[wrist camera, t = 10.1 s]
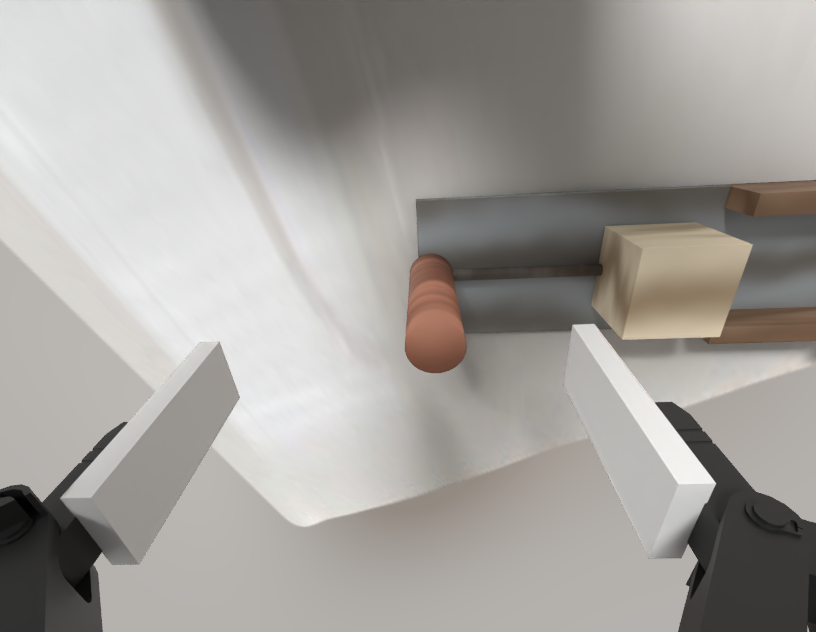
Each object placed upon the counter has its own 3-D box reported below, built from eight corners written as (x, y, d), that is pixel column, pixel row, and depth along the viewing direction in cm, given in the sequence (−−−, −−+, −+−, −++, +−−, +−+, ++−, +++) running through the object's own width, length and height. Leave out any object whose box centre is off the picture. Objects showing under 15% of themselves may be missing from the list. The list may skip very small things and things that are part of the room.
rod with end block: (408, 234, 32) (401, 294, 21) (695, 222, 31) (840, 278, 20) (412, 311, 35) (408, 396, 25) (673, 302, 34) (787, 387, 23)
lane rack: (416, 199, 32) (415, 213, 27) (894, 176, 30) (977, 187, 25) (421, 330, 37) (421, 359, 33) (825, 317, 35) (883, 347, 31)
